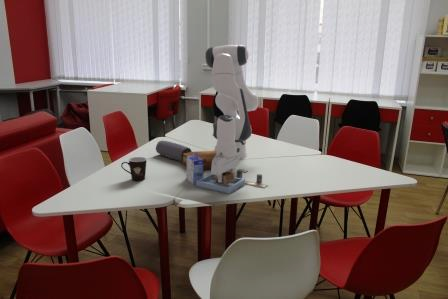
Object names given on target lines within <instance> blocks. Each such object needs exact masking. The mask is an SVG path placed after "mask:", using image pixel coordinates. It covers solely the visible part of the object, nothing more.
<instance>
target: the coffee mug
mask: <svg viewBox="0 0 448 299" xmlns="http://www.w3.org/2000/svg"><path fill="white" fill-rule="evenodd" d="M147 160H148V159H147V158H146V157H143V156H134V157H130V158H129V159H128V162H127V161H123V162H122V163H121V166H120V167H121V168H122V169H123V170H124V171H125V172H126V173H127V174H129V175H131V176H130V177H131V180H132V181H136V182H139V181H144V180H145V179H146V172H147V171H146V170H147ZM124 164H127V165H128V167H129V170H130V171H128V169H125V168H124V167H123V165H124Z"/></svg>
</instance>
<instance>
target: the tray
mask: <svg viewBox="0 0 448 299" xmlns="http://www.w3.org/2000/svg"><path fill="white" fill-rule="evenodd" d="M213 177H215V175H213V174H212V173H211V174H208V175H206V176H203V178H202V179H199V180H197V181H196V184H195V187H196V188H200V189H205V190H209V191H214V192H218V193H223V194H227V195H231V194H232V193H234V192H235V191H237V190H239V189H240V188H242V187H244V186H246V184H245V181H246V179H244V178H237V176H235V181H234V182H231V183H229V184H226V185H223V184H219V183H216V180H213Z"/></svg>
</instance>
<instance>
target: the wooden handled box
mask: <svg viewBox="0 0 448 299" xmlns="http://www.w3.org/2000/svg"><path fill="white" fill-rule="evenodd" d="M243 173H244V174H247V173H249V171H248V170H246V169H241V168H239V169H237V170H236V178H241V179H243ZM262 182H263V174H260V173H258V174H256V182H252V181H247V180H245V185H248V186H252V187H257V188H262V189H265V188H268V186H269V185H267V184H262Z"/></svg>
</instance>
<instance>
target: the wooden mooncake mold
mask: <svg viewBox="0 0 448 299" xmlns="http://www.w3.org/2000/svg"><path fill="white" fill-rule="evenodd" d="M221 177H222V178H223V182H221V183H220V182H218V178H217V175H215V177H213V180H216V183H219V184H223V185H226V184H229V183H231V182H234V181H235V177H236V174H235V172H234V171H233V172H229V170H228V171H226V172H224V173H222V176H221Z"/></svg>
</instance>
